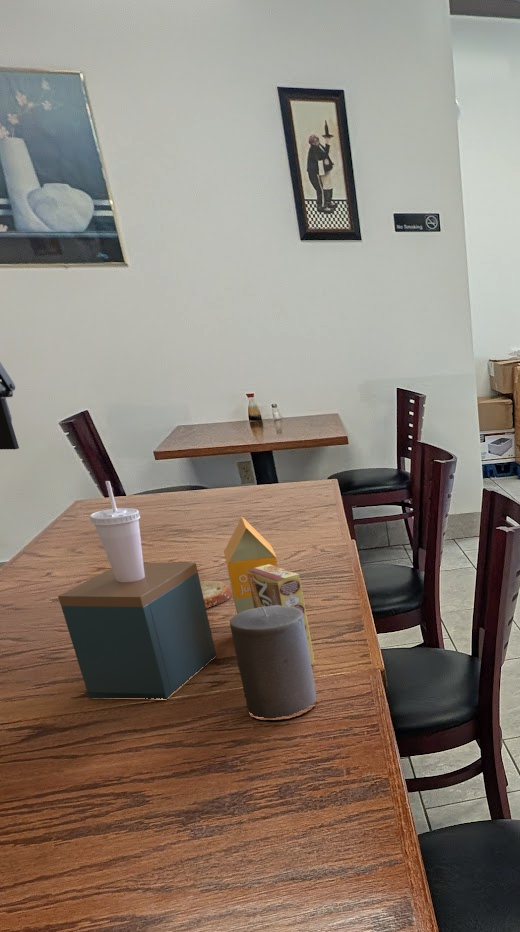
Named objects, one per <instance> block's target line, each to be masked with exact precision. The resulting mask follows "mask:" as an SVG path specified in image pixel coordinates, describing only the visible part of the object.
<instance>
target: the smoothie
mask: <svg viewBox="0 0 520 932" xmlns="http://www.w3.org/2000/svg"><path fill="white" fill-rule="evenodd" d="M105 485H106V489H107V493H108V497H109V502H110V505H111V508H108V509H103V510H99V511H96V512H92V513H91V514H90V515H89V519H90V524H92V525H94V528H95V530H96V533H97V535H98V538H99V540H100V542H101V543H100V544H102V547H103V549H104V552H105V554H106V556H107V559H108V562H109V565H110V568H112V569H113V572H114V574H115V576H116V579H117V581H118V582H134V581H138V580H141V579H143V578H144V577H145V574H144V565H143V563H144V557H143V548H142V539H141V529H140V522H139V519H141V515H140V510H139V509H138V508H132V507H118V508H117V504H116V499H115V497H114V493H113V488H112V485H111V481H110V480H105Z"/></svg>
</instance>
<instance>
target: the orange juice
mask: <svg viewBox="0 0 520 932" xmlns="http://www.w3.org/2000/svg"><path fill="white" fill-rule="evenodd" d="M223 554H224V558H225V562H226V568H227V574H228V578H229V580H228V581H229V584H230V587H231V588H230V589H231V591H232V598H233V602H234V606H235V612H236V615H237V614H238V613H241V612H243V611H246V610H250V609H254V603H253V599H252V594H251V589H250V584H249V579H248V575H247V570H249V569H252V568H256V567H260V566H264V565H268V564H269V565H273V566H276V567H278V562H277V558H278V557H277V555H276V553H275V551H274V549H273V547H272V544H271V543H269V542H268V541H267V540H266V539H265V537H263V536H262V535H261V534H260V533H259V532H258V531H257V530H256V529H255V527H253V526H252V524H250V523H249V522H248V521H247V520H246V519H245V518H244V517H243V516H242V515H241V517H240V519H239V521H238V523H237V525H236V527H235V529H234V531H233V533H232V535H231V537H230V538H229V541H228V543H227V545H226V547H225V549H223ZM278 568H279V567H278Z"/></svg>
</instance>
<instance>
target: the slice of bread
mask: <svg viewBox="0 0 520 932" xmlns="http://www.w3.org/2000/svg"><path fill="white" fill-rule="evenodd" d="M200 584H201V589H202V593H203V598H204V602H205V607H206V610H207V609H210V608H213V607H216V606H218V605H221V604H223V603H225V602H226V601H229V599H231V597H233V594H232V589H231V588H230V587H229V586H228V585H227V584H226V583H225V582H222V581H219V580H207V581H204V580H203V581H201V580H200ZM224 601H225V602H224ZM222 602H223V603H222ZM220 603H221V604H220ZM215 605H216V606H215ZM212 606H213V607H212ZM209 607H210V608H209Z"/></svg>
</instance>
